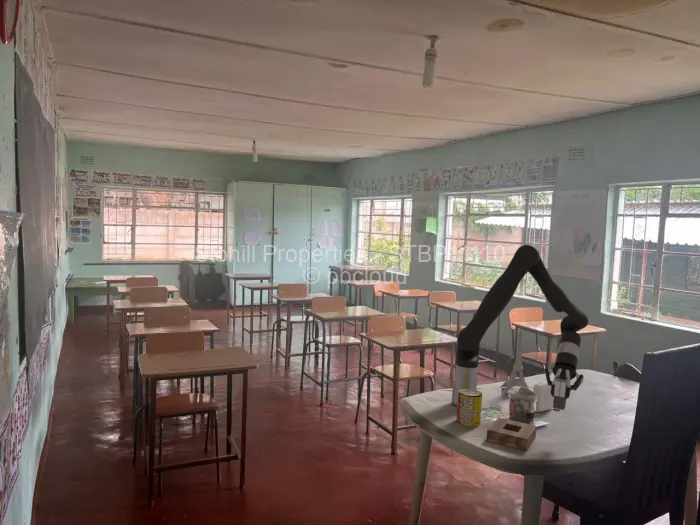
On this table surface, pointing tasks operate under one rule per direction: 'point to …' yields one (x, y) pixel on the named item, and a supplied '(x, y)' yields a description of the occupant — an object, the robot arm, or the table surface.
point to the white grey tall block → (560, 393)
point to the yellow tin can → (469, 407)
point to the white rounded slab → (543, 396)
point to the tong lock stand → (511, 433)
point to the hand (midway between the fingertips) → (559, 396)
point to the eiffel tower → (512, 379)
